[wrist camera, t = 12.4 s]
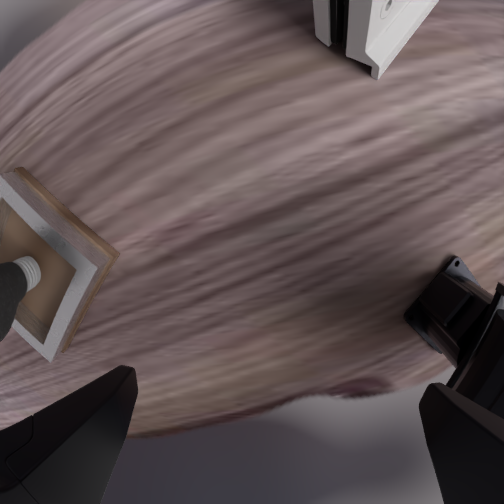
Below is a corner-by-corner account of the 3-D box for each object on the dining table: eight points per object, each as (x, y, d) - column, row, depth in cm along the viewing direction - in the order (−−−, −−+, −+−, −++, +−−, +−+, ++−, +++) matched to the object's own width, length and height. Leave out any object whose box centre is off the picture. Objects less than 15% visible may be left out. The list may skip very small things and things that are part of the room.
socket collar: (110, 258, 20) (97, 267, 18) (62, 350, 22) (51, 362, 20) (15, 171, 18) (-2, 174, 16) (-17, 272, 20) (-30, 280, 18)
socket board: (119, 253, 21) (114, 257, 20) (68, 347, 23) (63, 353, 22) (22, 167, 19) (15, 167, 18) (-12, 269, 21) (-19, 273, 20)
